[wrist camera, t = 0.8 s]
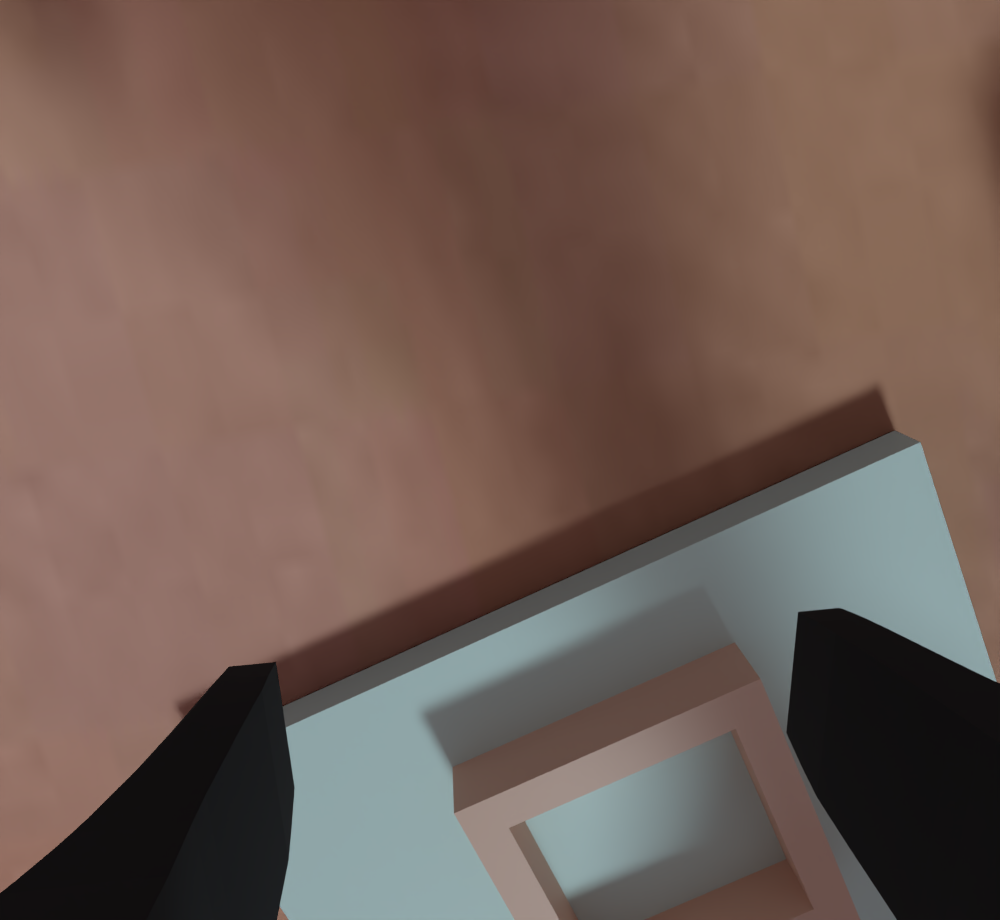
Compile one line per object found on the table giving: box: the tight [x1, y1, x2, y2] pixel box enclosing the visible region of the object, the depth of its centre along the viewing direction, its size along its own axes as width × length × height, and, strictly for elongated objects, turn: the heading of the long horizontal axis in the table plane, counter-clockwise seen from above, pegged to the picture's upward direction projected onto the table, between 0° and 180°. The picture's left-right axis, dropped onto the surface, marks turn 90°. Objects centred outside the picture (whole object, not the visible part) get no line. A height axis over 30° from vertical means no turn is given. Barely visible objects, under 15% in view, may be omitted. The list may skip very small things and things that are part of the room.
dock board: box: [280, 431, 996, 920], centre depth 23 cm, size 14×20×3 cm
